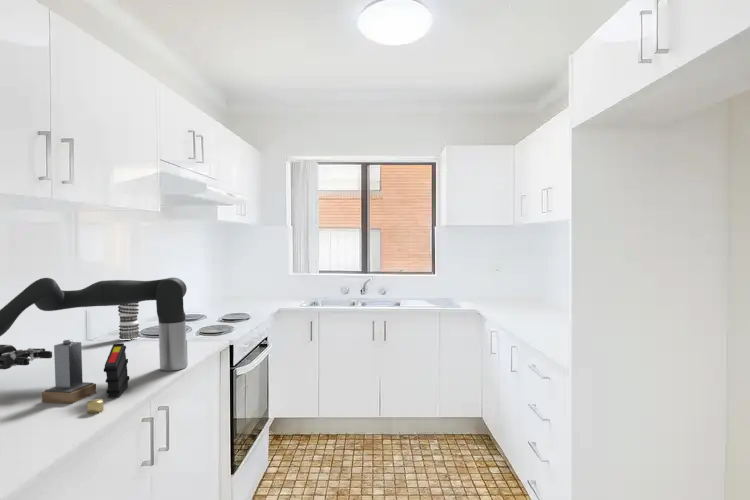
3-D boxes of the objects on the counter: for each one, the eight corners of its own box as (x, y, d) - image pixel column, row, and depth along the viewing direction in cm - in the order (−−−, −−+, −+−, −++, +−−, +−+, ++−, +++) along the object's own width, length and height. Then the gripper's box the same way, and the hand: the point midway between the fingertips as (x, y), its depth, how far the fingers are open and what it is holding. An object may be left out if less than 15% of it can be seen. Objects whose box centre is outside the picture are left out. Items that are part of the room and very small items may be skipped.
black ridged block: (131, 379, 167) (125, 342, 161) (122, 408, 156) (115, 370, 149) (119, 380, 167) (112, 343, 160) (109, 409, 155) (101, 370, 148)
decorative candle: (115, 339, 242) (113, 287, 241) (134, 336, 249) (133, 285, 248) (123, 342, 236) (121, 288, 235) (143, 338, 243) (141, 286, 242)
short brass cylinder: (94, 409, 144) (94, 398, 144) (106, 409, 143) (106, 399, 143) (83, 414, 140) (83, 403, 140) (96, 414, 139) (96, 404, 139)
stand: (68, 391, 160) (67, 381, 160) (96, 393, 159) (95, 382, 158) (42, 402, 150) (41, 390, 150) (71, 403, 149) (71, 392, 149)
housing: (68, 383, 157) (66, 338, 157) (82, 384, 157) (81, 339, 156) (55, 388, 153) (53, 342, 152) (70, 389, 152) (68, 342, 151)
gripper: (15, 362, 166) (58, 364, 163) (-27, 374, 152) (20, 376, 149) (14, 340, 166) (58, 341, 163) (-28, 349, 152) (19, 351, 149)
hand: (39, 358), depth 156 cm, fingers open, 8 cm apart
